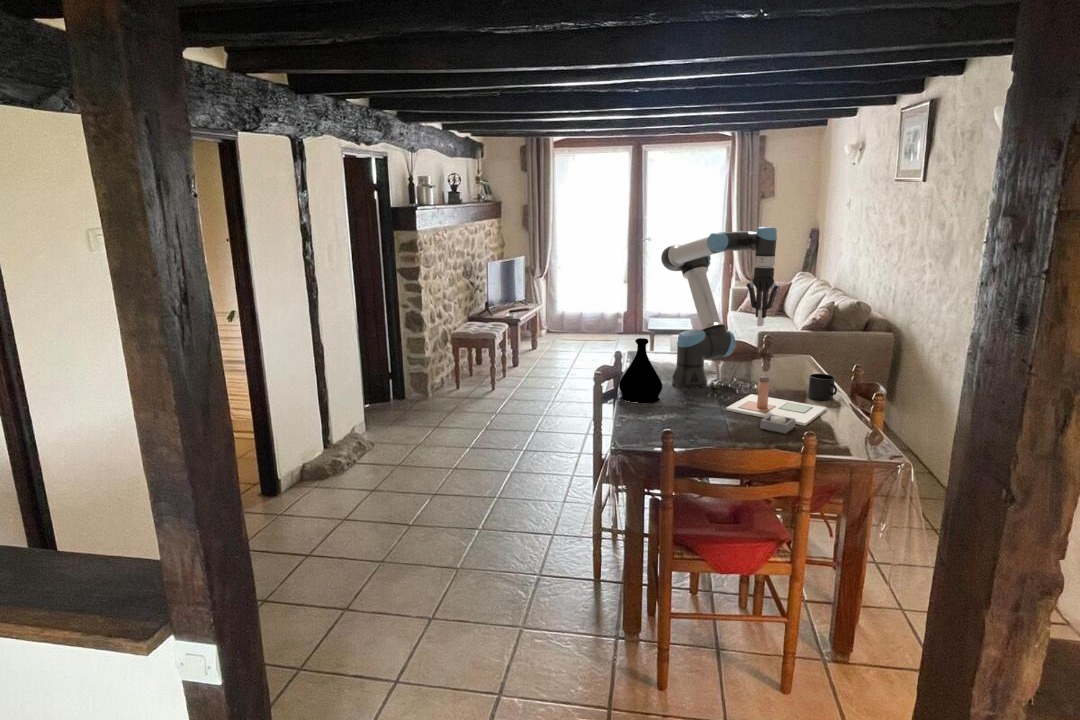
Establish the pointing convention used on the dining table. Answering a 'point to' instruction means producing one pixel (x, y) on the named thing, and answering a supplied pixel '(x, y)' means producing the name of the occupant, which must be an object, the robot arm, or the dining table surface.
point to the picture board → (778, 409)
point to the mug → (821, 387)
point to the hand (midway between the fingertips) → (760, 325)
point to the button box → (777, 424)
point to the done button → (778, 419)
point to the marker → (763, 392)
